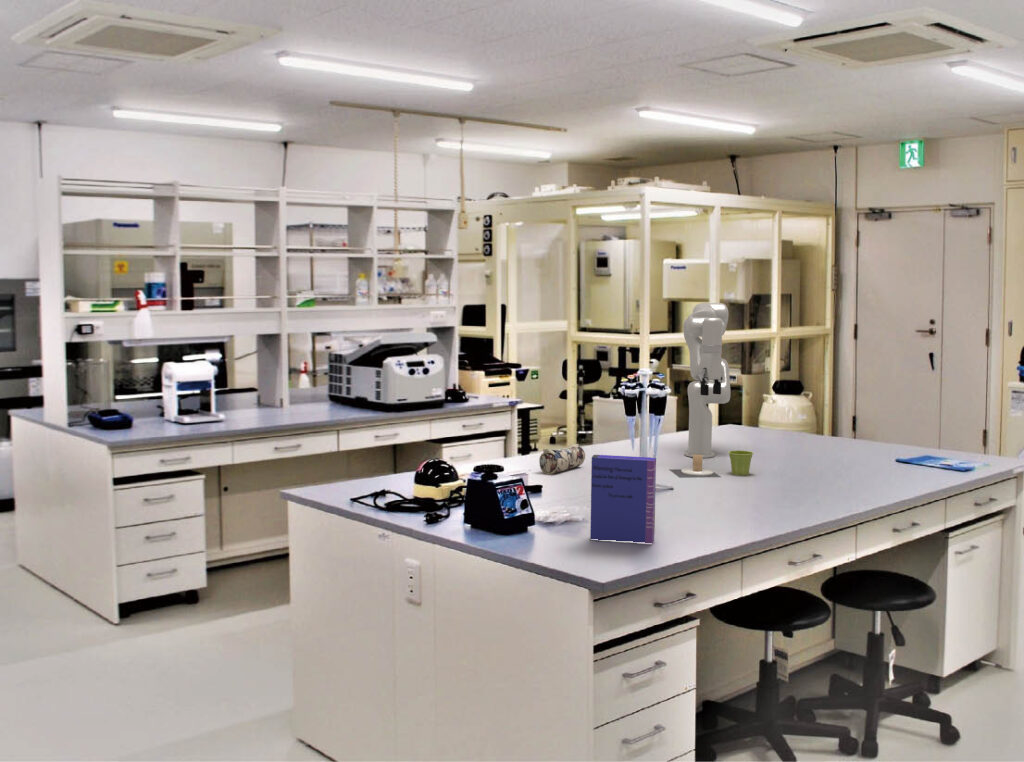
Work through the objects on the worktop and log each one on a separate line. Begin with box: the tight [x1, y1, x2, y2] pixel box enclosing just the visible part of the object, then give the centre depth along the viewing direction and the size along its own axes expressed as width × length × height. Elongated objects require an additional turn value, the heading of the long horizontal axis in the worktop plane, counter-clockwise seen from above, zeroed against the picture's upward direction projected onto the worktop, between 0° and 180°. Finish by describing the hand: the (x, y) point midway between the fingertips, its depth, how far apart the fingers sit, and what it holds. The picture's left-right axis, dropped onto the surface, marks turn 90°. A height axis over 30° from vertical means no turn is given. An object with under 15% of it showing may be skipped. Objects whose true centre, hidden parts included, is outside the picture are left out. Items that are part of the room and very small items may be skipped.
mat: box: [668, 468, 722, 479], centre depth 388 cm, size 16×16×1 cm
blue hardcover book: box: [589, 454, 657, 544], centre depth 288 cm, size 17×5×24 cm, turn 75°
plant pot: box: [727, 450, 754, 476], centre depth 388 cm, size 9×9×9 cm
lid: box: [681, 454, 715, 476], centre depth 388 cm, size 12×12×7 cm
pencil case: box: [538, 443, 586, 475], centre depth 394 cm, size 22×8×10 cm, turn 145°
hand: (710, 394), depth 394 cm, fingers open, 9 cm apart
